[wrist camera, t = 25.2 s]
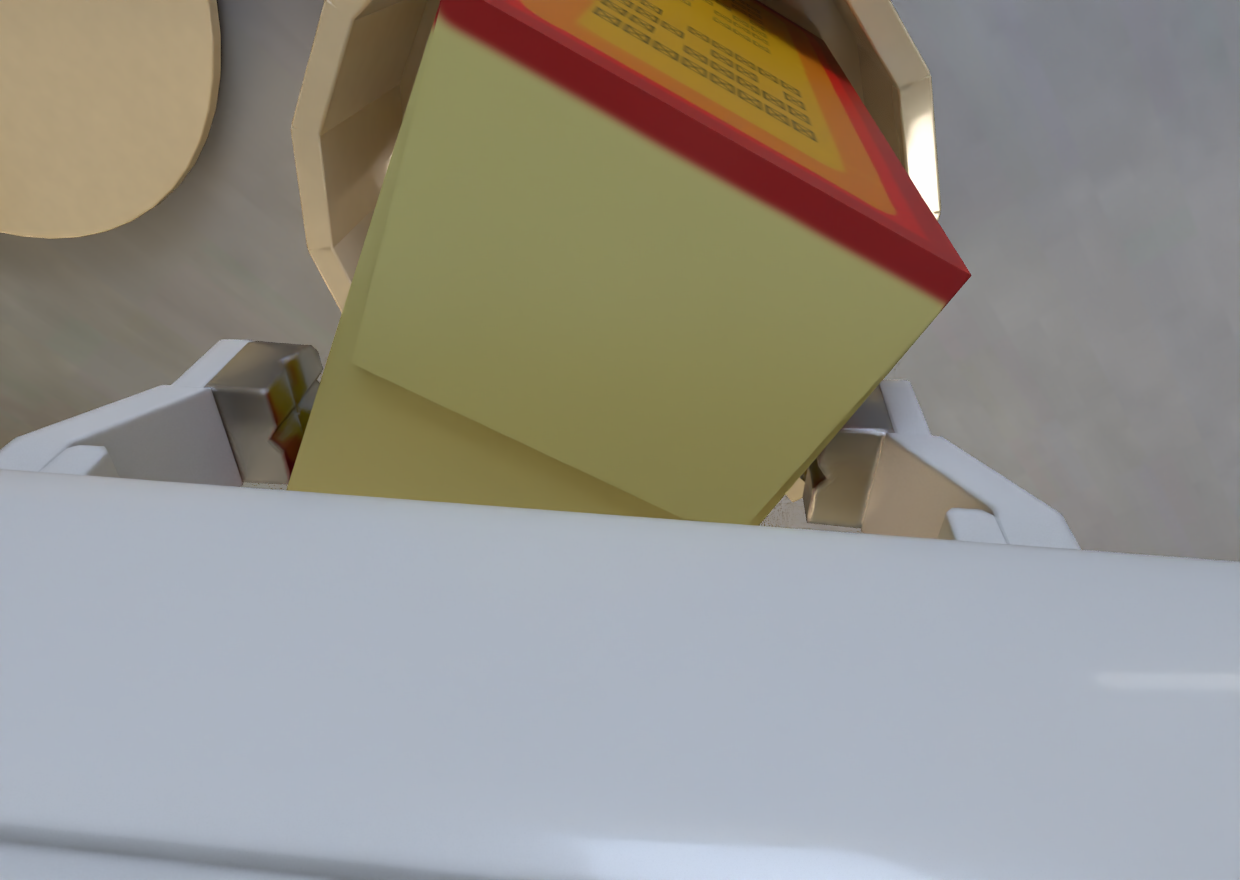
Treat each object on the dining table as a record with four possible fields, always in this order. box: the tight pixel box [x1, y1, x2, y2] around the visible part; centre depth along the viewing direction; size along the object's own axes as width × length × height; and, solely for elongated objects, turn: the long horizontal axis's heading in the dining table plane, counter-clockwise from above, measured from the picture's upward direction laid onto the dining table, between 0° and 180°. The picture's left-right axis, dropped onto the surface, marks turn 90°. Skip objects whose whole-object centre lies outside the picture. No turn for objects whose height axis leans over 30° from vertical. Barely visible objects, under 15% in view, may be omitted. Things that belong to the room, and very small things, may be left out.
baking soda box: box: [287, 0, 971, 526], centre depth 17 cm, size 10×6×16 cm
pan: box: [291, 0, 941, 502], centre depth 22 cm, size 15×21×6 cm
